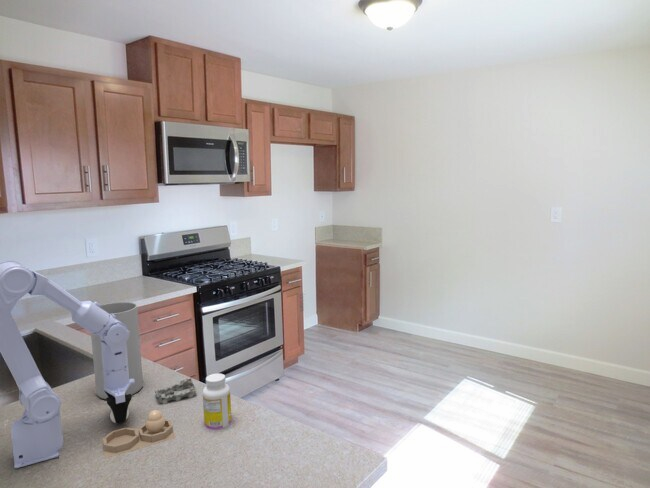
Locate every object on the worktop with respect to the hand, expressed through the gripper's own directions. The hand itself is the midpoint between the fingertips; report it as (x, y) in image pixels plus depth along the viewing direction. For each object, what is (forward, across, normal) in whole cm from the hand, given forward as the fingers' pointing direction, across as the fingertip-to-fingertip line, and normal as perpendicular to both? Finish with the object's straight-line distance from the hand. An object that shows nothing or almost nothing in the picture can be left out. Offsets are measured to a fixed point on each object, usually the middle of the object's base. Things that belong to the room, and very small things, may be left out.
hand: (119, 417), depth 111 cm
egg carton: (+2, +6, -15) cm, 16 cm away
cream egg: (+2, 0, 0) cm, 2 cm away
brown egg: (+1, -11, -7) cm, 13 cm away
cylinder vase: (+2, +20, -2) cm, 20 cm away
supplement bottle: (+2, -14, -21) cm, 25 cm away
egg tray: (+2, -11, -3) cm, 12 cm away
